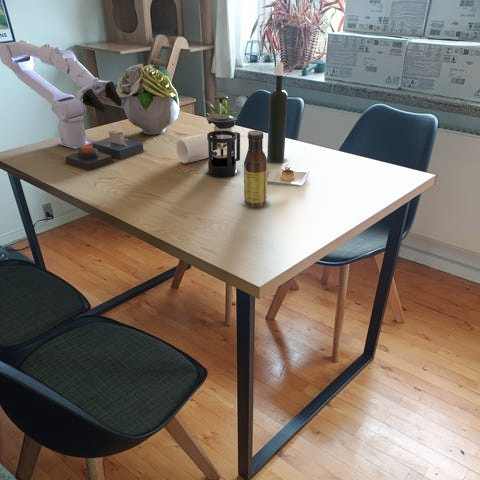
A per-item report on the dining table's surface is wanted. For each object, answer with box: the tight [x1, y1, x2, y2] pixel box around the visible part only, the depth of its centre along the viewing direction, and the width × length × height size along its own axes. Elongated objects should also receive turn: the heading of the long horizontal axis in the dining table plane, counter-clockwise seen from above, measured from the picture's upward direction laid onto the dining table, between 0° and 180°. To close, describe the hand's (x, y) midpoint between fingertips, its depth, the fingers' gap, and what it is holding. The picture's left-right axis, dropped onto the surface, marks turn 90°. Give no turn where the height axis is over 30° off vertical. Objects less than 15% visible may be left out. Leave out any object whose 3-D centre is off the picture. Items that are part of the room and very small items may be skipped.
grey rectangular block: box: [108, 130, 125, 145], centre depth 173 cm, size 6×2×4 cm, turn 53°
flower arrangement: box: [115, 63, 180, 136], centre depth 188 cm, size 25×25×24 cm
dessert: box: [267, 164, 310, 187], centre depth 153 cm, size 12×12×5 cm
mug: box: [175, 133, 209, 164], centre depth 167 cm, size 12×10×8 cm
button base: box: [64, 148, 114, 171], centre depth 165 cm, size 12×10×4 cm
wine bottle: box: [266, 62, 288, 164], centre depth 160 cm, size 6×6×30 cm
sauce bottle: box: [243, 129, 268, 209], centre depth 132 cm, size 6×6×20 cm
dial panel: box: [91, 137, 145, 160], centre depth 175 cm, size 14×11×3 cm
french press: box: [206, 95, 241, 179], centre depth 152 cm, size 12×9×23 cm
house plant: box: [203, 99, 237, 146], centre depth 180 cm, size 14×14×16 cm
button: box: [80, 144, 93, 153], centre depth 163 cm, size 4×4×2 cm
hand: (112, 106), depth 163 cm, fingers open, 7 cm apart
